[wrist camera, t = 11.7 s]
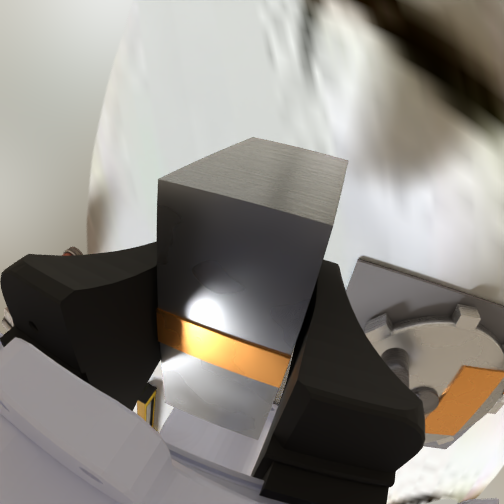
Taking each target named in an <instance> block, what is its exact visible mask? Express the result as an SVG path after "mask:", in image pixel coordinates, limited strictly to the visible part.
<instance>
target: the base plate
mask: <svg viewBox="0 0 504 504" xmlns="http://www.w3.org/2000/svg"><path fill="white" fill-rule="evenodd" d="M346 293H347V296H348V298H349V301H350V304H351V306H352V309H353V311H354V313H355V315H356V318H357V320H358V322H359V324H360V326H361V328H362V329H363V331H364V333H365V323H366V322H368V321H370V320H372V319H374V318H377V317H379V316H381V315H383V314H385V313H386V314H387V315H388V317H389V319H390V320H391V322H392V323H393V324H394V323H397V322H400V321H404V320H407V319H412V318H418V317H424V316H452V314H453V312H454V310H455V308H456V306H457V304H461V305H466V306H470V307H475V308H477V310H478V313H479V315H480V318H481V320H480V321H479V323H478V324H480V325H482V326H484V327H485V328H487V329H488V330H490V331H491V332H492V333H493V334H494V335H495V336H496V338H497V339H498V341H499V342H500V344H501V347H502V344H504V306H502V305H499V304H496V303H493V302H490V301H487V300H484V299H481V298H478V297H475V296H472V295H469V294H466V293H463V292H460V291H457V290H454V289H451V288H448V287H445V286H442V285H439V284H436V283H433V282H430V281H427V280H424V279H420V278H417V277H414V276H411V275H408V274H405V273H402V272H399V271H396V270H392V269H389V268H386V267H383V266H380V265H376V264H373V263H370V262H367V261H364V260H360V259H358V260H357V263H356V266H355V269H354V271H353V274H352V277H351V279H350V282H349V285H348V287H347V290H346ZM502 350H503V349H502ZM503 394H504V390H503ZM474 424H475V423H474ZM474 424H473V425H474ZM471 426H472V425H471ZM471 426H470V427H471ZM470 427H468V428H466V429H464V430H463V431H461V432H459V433H456V434H455V435H454V440H453V441H450V442H447V443H444V444H440V445H438V443H437V441H433V442H429V443H424V445H423V446H426V447H433V448H441V449H447V448H448V447H449V446H450V445H451V444H452V443H454V442H455V441H456V440H457V439H458V438H459V437H460V436H462V435H463V434H464V433H465V432H466V431H467V430H468V429H469V428H470Z"/></svg>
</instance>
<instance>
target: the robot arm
mask: <svg viewBox="0 0 504 504" xmlns="http://www.w3.org/2000/svg"><path fill="white" fill-rule="evenodd" d="M0 282H1V289H2V293H3V296H4V299H5V302H6V304H7V307H8V310H9V313H10V315H11V318H12V320H13V323H14V325H15V326H13V327H12V328H11V329H10V330H9V331H8V332H7V333H5V334H4V335H3V334H2V333H1V332H0V504H386V503H387V496H388V489H389V487H391V486H393V484H394V482H395V473H396V470H398V469H399V468H400V467H402V466H403V465H404V464H405V463H407V462H408V461H409V460H410V459H411V458H413V457H414V456H415V455H416V454H417V453H418V452H419V451H420V450H421V449H422V448H423V445H424V442H425V415H424V408H423V401H422V400H421V399H420V398H419V397H418V396H417V395H416V394H415V393H414V392H413V391H411V390H410V389H409V388H408V387H407V386H406V385H405V384H404V383H403V382H402V381H401V380H400V379H399V378H398V377H397V376H396V374H395V373H394V372H393V371H392V370H391V369H390V368H389V367H388V365H387V364H386V363H385V362H384V360H383V359H382V358H381V357H380V355H379V354H378V352H377V351H376V350H375V348H374V347H373V345H372V344H371V342H370V341H369V339H368V338H367V336H366V334H365V333H364V331H363V329H362V328H361V326H360V324H359V322H358V320H357V318H356V315H355V313H354V311H353V309H352V306H351V304H350V301H349V298H348V296H347V293H346V290H345V287H344V284H343V280H342V277H341V272H340V267H339V266H338V264H336V263H333V262H330V261H326V260H323V261H322V264H321V268H320V271H319V274H318V277H317V280H316V284H315V287H314V290H313V293H312V296H311V299H310V302H309V305H308V308H307V311H306V314H305V317H304V320H303V323H302V326H301V329H300V332H299V334H298V337H297V340H296V343H295V348H294V352H293V357H292V361H291V365H290V370H289V374H288V378H287V382H286V385H285V388H284V391H283V394H282V397H281V400H280V402H279V405H276V404H273V405H272V407H271V410H270V412H269V415H268V417H267V420H266V422H265V425H264V427H263V430H262V432H261V434H260V437H259V439H258V440H256V439H253V438H250V437H247V436H245V435H242V434H239V433H236V432H234V431H231V430H228V429H226V428H223V427H220V426H218V425H215V424H213V423H210V422H208V421H206V420H203V419H201V418H198V417H196V416H194V415H191V414H189V413H187V412H184V411H182V410H180V409H178V408H176V407H174V409H173V410H172V412H171V414H170V415H169V417H168V418H167V420H166V422H165V423H164V425H163V427H162V429H161V431H160V433H158V432H157V431H156V430H155V429H154V428H152V427H151V426H150V425H149V424H148V423H147V422H146V421H145V420H144V419H143V418H142V417H140V416H139V415H137V414H136V413H134V412H133V409H134V407H135V405H136V403H137V401H138V399H139V397H140V395H141V393H142V391H143V390H144V388H145V386H146V384H147V382H148V380H149V379H150V377H151V375H152V373H153V372H154V370H155V368H156V366H157V365H158V363H159V361H160V360H161V352H160V342H159V341H158V332H157V314H156V309H157V308H158V293H157V242H154V243H150V244H147V245H143V246H139V247H135V248H130V249H125V250H120V251H114V252H106V253H98V254H89V255H69V256H55V255H35V254H28V255H26V256H24V257H23V258H21V259H20V260H18V261H17V262H15V263H14V264H12V265H11V266H9V267H8V268H7V269H5V270H4V271H3V272H2V275H1V281H0ZM458 504H499V499H497V498H493V499H492V498H491V499H472V500H466V501H463V502H460V503H458Z"/></svg>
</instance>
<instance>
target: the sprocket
mask: <svg viewBox="0 0 504 504" xmlns="http://www.w3.org/2000/svg"><path fill="white" fill-rule="evenodd" d="M480 320H481V318H480V315H479V313H478V310H477V308H475V307H470V306H466V305H461V304H457V306H456V308H455V310H454V312H453V314H452V316H424V317H418V318H412V319H407V320H404V321H400V322H397V323H394V324H393V323H392V322H391V320H390V319H389V317H388V315H387V314H386V313H385V314H383V315H381V316H379V317H377V318H374V319H372V320H370V321H368V322H366V323H365V334H366V336H367V338H368V339H369V341H370V342H371V344H372V345H373V347H374V348H375V350H376V351H377V352H378V354H379V355H380V357H381V358H382V359H383V360H384V362H385V363H386V364H387V365H388V367H389V368H390V369H391V370H392V371H393V372H394V373H395V374H396V376H397V377H398V378H399V379H400V380H401V381H402V382H403V383H404V384H405V385H406V386H407V387H408V388H409V389H410V390H411V391H413V392H414V393H415V394H416V395H417V396H418V397H419V398H420V399H421V400H422V401H423V408H424V415H425V442H424V443H429V442H433V441H437V443H438V445H440V444H444V443H447V442H450V441H453V440H454V435H455V434H456V433H459V432H461V431H463V430H464V429H466V428H468V427H470V426H471V425H473V424H474V423H476V422H477V421H478V420H480V419H481V418H482V417H483V416H484V415H486V414H487V413H492V414H496V413H497V411H498V410H499V409H500V408H501V407H502V406H503V405H504V395H503V390H504V344H502V347H501V344H500V342H499V341H498V339H497V338H496V336H495V335H494V334H493V333H492V332H491V331H490V330H488V329H487V328H485V327H484V326H482V325H480V324H478V323H479V321H480ZM502 349H503V350H502Z"/></svg>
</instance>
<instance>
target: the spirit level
mask: <svg viewBox="0 0 504 504" xmlns="http://www.w3.org/2000/svg"><path fill="white" fill-rule="evenodd" d="M156 389H157V388H156V387H153V386H151V385H150V384H149V383H147V384H146V386H145V388H144V390H143V391H142V393H141V395H140V397H139V399H138V401H137V415H139V416H140V417H142V418H143V419H144V420H145V421H146V422H147V423H148V424H149V425H150V426H151V427H152V428H153V419H154V406H155V394H156Z"/></svg>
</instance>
